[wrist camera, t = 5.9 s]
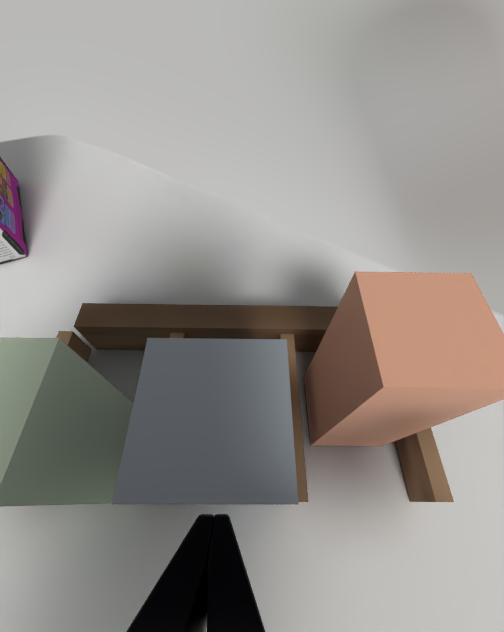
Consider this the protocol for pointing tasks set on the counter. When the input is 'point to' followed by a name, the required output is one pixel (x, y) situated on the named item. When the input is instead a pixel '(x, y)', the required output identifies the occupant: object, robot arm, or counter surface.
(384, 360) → the pink rectangular block
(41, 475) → the sage key
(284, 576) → the counter surface
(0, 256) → the candy bar box
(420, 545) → the counter surface
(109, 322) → the wooden slotted rack
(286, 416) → the grey tall block
